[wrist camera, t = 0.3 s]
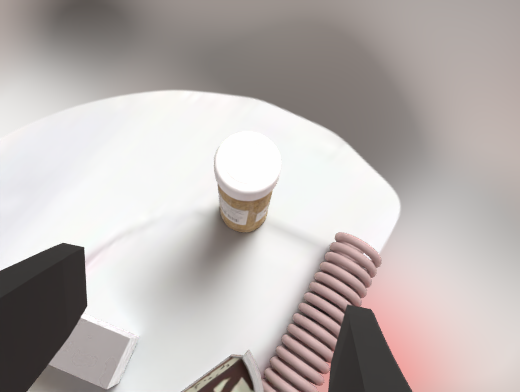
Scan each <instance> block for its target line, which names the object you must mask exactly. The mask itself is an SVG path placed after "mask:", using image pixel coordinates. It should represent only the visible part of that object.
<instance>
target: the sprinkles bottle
mask: <svg viewBox="0 0 520 392" xmlns="http://www.w3.org/2000/svg"><path fill="white" fill-rule="evenodd" d="M280 171H281V157H280V154H279V151H278V149H277V148H276V146H275V145H274V144H273V142H272V141H271V140H269V139H268V138H267V137H265V136H263V135H261V134H259V133H255V132H239V133H236V134H233V135H231V136H229V137H228V138H227V139H225V140H224V141H223V142H222V143H221V144H220V146H219V147H218V149H217V151H216V154H215V158H214V172H215V178H216V181H217V183H218V193H219V200H220V213H221V217H222V219H223V221H224V222H225V224H226V225H227V226H228V227H230V228H231V229H233V230H235V231H238V232H251V231H253V230H255V229H257V228H258V227H259V226H261V225H262V223H263V222H264V221H265V219H266V216H267V211H268V207H269V203H270V199H271V195H272V190H273V189H274V187H275V186H276V184H277V182H278V179H279V175H280Z"/></svg>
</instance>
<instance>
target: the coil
mask: <svg viewBox="0 0 520 392" xmlns="http://www.w3.org/2000/svg"><path fill="white" fill-rule="evenodd" d="M335 240H336V242H333V243H331V245H330V250H331V251H332V252H328V253H326V254H325V259H326V261H327V262H322V263H321V264H320V269H321V271H322V272H317V273H316V274H315V276H314V278H315V280H316V281H318V282H319V283H321V284H322V285H321V284H319V283H316V282H312V283H310V285H309V288H310V290H311V291H312V292H314V293H316V294H317V295H319V296H321V297H323V298H325V299H327V300H329V301H331V302H333V303H335V304H336V305H338V306H339V307H340V308H339V307H336V306H334V305H332V304H330V303H328V302H327V301H325V300H324V299H322V298H320V297H318V296H317V295H315V294H313V293H310V292H307V293H305V294H304V299H305V300H306V301H307V302H309V303H310V304H312V305H314V306H316V307H318V308H320V309H322V310H323V311H325V312H326V313H328V314H329V315H331V316H332V317H331V316H329V315H326V314H324V313H322V312H320V311H318V310H316V309H315V308H313V307H311V306H310V305H308V304H306V303H300V304H299V306H298V308H299V310H300V311H301V312H303V313H305V314H306V315H308V316H310V317H311V318H313V319H315V320H316V321H318V322H319V323H321V324H322V325H321V324H319V323H317V322H314V321H312V320H310V319H308V318H306V317H305V316H303V315H301V314H299V313H296V314H294V315H293V320H294V321H295V322H296V323H298V324H299V325H301V326H302V327H304V328H306V329H307V330H309V331H310V332H309V331H307V330H305V329H303V328H301V327H299V326H297V325H295V324H289V325H288V327H287V330H288V332H289V333H291V334H292V335H293V336H295V337H296V338H298V339H299V340H298V339H296V338H294V337H292V336H290V335H286V334H285V335H283V337H282V342H283V343H284V344H285V345H286V346H287V347H285V346H282V345H280V346H277V348H276V353H277V354H278V355H279V356H280V357H281V358H280V357H276V356H274V357H272V358H271V359H270V364H271V366H272V367H273V368H270V367H268V368H266V369H265V371H264V375H265V377H266V379H261V380H262V385H263V389H264V392H299V391H301V392H318V389H317V388H316V387H315V386H313V385H312V384H311V383H313V384H315V385H319V386H320V385H322V384H323V383H324V378H323V376H322V375H320V374H319V373H322V374H327V373H328V372H329V371H330V368H329V365H328V364H327V363H326V362H328V363H331V360H332V357H333V352H332V351H334V350H335V346H336V342H337V339H338V335H339V332H340V328H341V324H342V321H343V317H344V314H345V310H346V307H347V304H349V305H353V306H358V307H360V306H361V303H362V301H361V299H360V298H364V297H365V296H366V293H367V290H366V288H368V287H369V286H370V285H371V283H372V280H371V278H373V277H374V276H375V275H376V273H377V269H376V268H377V267H379V266H380V265H381V257H380V255H379V254H378V252H377V251H376V250H375V249H374V248H372V247H371V246H370V245H368V244H367V243H365V242H364V241H362V240H361V239H359V238H357V237H355V236H353V235H350V234H347V233H342V232H339V233H337V234H336V235H335ZM363 253H365V254H366V255H368V256H369V257H370V258H371V259H372V260H369V259H368V258H367V257H366V256H364V255H363ZM361 267H364V268H365V269H366V270H364V269H363V268H361ZM323 272H324V273H323ZM353 275H354V276H357V277H359V278H360V279H357V278H355V277H354V276H353ZM344 283H345V284H347V285H350V286H352V287H353V288H354V289H351V288H349V287H348V286H347V285H345V284H344ZM323 285H324V286H323ZM325 286H326V287H325ZM330 289H331V290H330ZM332 290H333V291H332ZM334 291H336V292H338V293H340V294H343V295H344V296H346V297H347V298H348V299H347V298H344V297H341V296H340V295H338V294H337V293H335V292H334ZM333 317H334V318H333ZM323 325H324V326H323ZM311 332H312V333H311ZM288 347H289V348H288ZM318 372H319V373H318ZM308 381H309V382H308ZM310 382H311V383H310ZM296 389H297V390H296ZM298 390H299V391H298Z"/></svg>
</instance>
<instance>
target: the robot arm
mask: <svg viewBox="0 0 520 392" xmlns="http://www.w3.org/2000/svg"><path fill="white" fill-rule="evenodd" d="M86 307H87V293H86V274H85V255H84V247H80V246H75V245H71V244H66V243H62V244H59V245H57V246H54V247H52V248H49V249H47V250H45V251H43V252H40V253H38V254H36V255H34V256H32V257H29V258H27V259H25V260H23V261H21V262H19V263H16V264H14V265H12V266H10V267H8V268H5V269H3V270H1V271H0V392H27V391H28V389H29V388H30V387H31V385H32V384H33V383H34V382H35V380H36V379H37V378H38V377H39V375H40V374H41V373H42V371H43V370H44V369H45V368H46V366H47V365H48V364H49V363H50V361H51V360H52V359H53V357H54V356H55V355H56V354H57V352H58V351H59V350H60V348H61V347H62V346H63V344H64V343H65V342H66V340H67V339H68V338H69V336H70V335H71V333H72V331H73V330H74V328H75V326H76V325H77V323H78V321H79V320H80V318H81V316H82V314H83V312H84V311H85V309H86ZM328 392H412V390H411V388H410V387H409V385H408V383H407V381H406V380H405V377H404V376H403V374H402V372H401V370H400V368H399V366H398V364H397V363H396V361H395V359H394V357H393V355H392V353H391V351H390V349H389V346H388V345H387V342H386V340H385V338H384V336H383V334H382V331H381V329H380V327H379V325H378V322H377V320H376V318H375V315H374V313H373V312H372V310H371V309H367V308H362V307H358V306H353V305H349V304H347V307H346V310H345V314H344V317H343V321H342V324H341V328H340V332H339V335H338V339H337V342H336V346H335V350H334V353H333V357H332V360H331V368H330V379H329V390H328Z"/></svg>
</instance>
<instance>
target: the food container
mask: <svg viewBox="0 0 520 392" xmlns="http://www.w3.org/2000/svg"><path fill="white" fill-rule="evenodd" d="M181 392H264V389H263V385H262V380H261V375H260V372H259V370H258V367H257V364H256V362H255V360H254V358H253V356H252V354H251V352H250V350H248V351H247V352H246V353H245V355H231V356H229V357H228V358H226V359H225V360H224V361H222V362H221V363H220V364H218V365H217V366H215V367H214V368H213V369H211V370H210V371H209V372H207V373H206V374H205V375H203V376H202V377H200V378H199V379H198V380H196V381H195V382H194V383H192V384H191V385H189V386H188V387H187V388H185V389H184V390H183V391H181Z"/></svg>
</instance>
